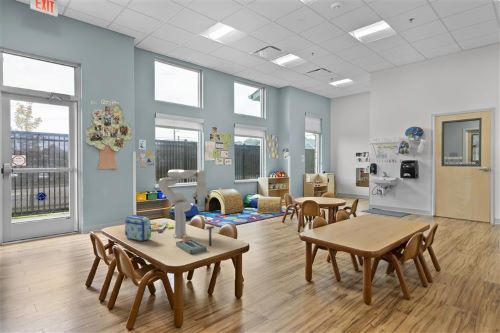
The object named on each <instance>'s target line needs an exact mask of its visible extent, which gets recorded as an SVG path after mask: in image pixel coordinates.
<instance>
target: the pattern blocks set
mask: <svg viewBox="0 0 500 333" xmlns="http://www.w3.org/2000/svg"><path fill="white" fill-rule="evenodd" d="M166 226H167V228H168V230H172V229H174V225H169V224H168V222H162V223H161V224H157V223H153V222H152V223H151V232H157V233H158V234H161V233H162V232H163V233H164V230H165V228H166Z"/></svg>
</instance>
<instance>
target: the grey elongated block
mask: <svg viewBox="0 0 500 333" xmlns="http://www.w3.org/2000/svg"><path fill="white" fill-rule="evenodd" d="M182 239H183V240H182V241H183V242H181V244H183V245H185V246H187V247H188V248H190V249H195V248H199V247H201V246H199V245H197V244H195V243H193V242H191V241H188V239H189V235H188V234H187V235H185V236H183V238H182ZM187 244H190V245H191V246H193V247H194V248H193V247H191V246H189V245H187Z"/></svg>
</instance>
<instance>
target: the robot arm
mask: <svg viewBox="0 0 500 333" xmlns="http://www.w3.org/2000/svg"><path fill="white" fill-rule="evenodd" d="M206 172H207V171H206V170H204V169H202V170H200V169H187V170H186V169H185V170H184V169H179V168H176V169H174V168H173V169H169V170H168V171H167V176H168V177H162V178H160V179H159V180H158V182H157V184H158V190H160V192H161V193H162V194H163V195H164V196H165V198H166V199H167V200H168V201H169V203H171V204H172V205H174V206H173V211H174V230H175V231H174V234H173V238H174V239H175V238H176V239H183V236H185V235H187V236H188V234H187V233H186V231H187V229H186V228H187V226H186V224H187V223H186V221H187V220H186V218H187V217H186V214H185V212H188V211H190V210H191V209H192V204H191V202H190V200H189V199H188V198H187V197H186V196H185V194H183V193H181V192H178V193H177V192H175V191H174V190H173V189H172V188H171V187H172V186H175V185H176V184H177V183H178V182H179V180H181V179H183V180H184V179H187V180H189V179H196V185H195V190H194V193H192V195H191V196H192V198H193V199H194V204H195V205H198V203H199V198H205V199H204V203H205V204H208V201H209V198H210V195H211V193H210V192H208V187H207V184H208V183H207V182H206V180H207V179H206Z"/></svg>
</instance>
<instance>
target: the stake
mask: <svg viewBox="0 0 500 333" xmlns="http://www.w3.org/2000/svg"><path fill="white" fill-rule="evenodd" d="M214 228H215V227H214V225H210V226H207V227H206V230H208V246H209V247H212V243H213V242H212V229H214Z"/></svg>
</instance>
